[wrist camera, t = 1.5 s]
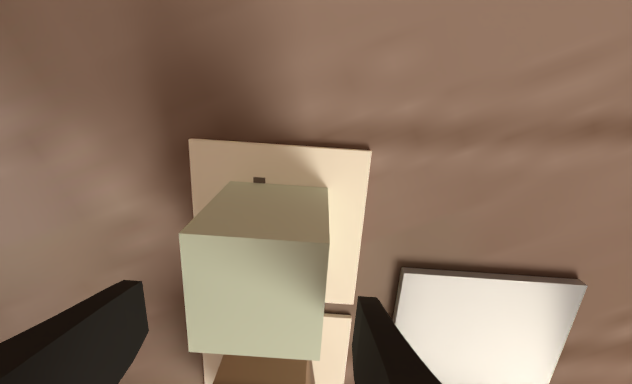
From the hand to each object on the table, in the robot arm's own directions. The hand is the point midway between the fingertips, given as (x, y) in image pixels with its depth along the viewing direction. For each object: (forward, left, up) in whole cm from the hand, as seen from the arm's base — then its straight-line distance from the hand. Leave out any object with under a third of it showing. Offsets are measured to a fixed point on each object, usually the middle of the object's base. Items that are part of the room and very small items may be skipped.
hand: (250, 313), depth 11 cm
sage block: (0, 0, -7) cm, 7 cm away
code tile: (0, 0, -7) cm, 7 cm away
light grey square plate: (-7, -12, -7) cm, 16 cm away
